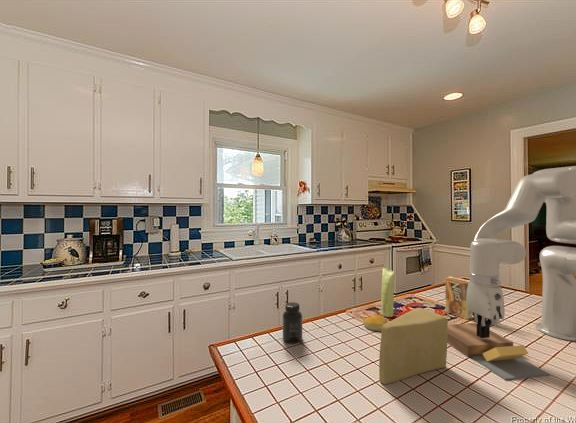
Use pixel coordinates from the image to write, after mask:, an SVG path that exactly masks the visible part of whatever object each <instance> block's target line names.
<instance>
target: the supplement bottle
mask: <svg viewBox="0 0 576 423" xmlns="http://www.w3.org/2000/svg"><path fill="white" fill-rule="evenodd" d="M284 309H285V311H284V312H283V313H282V339H283V341H284V342H285V343H288V344H297V343H300V342H301V341H302V340H303V313H302V312H301V311H300V310H301V309H300V304H299V303H298V302H296V301H295V302H293V301H292V302H291V301H290V302H286V303H285V308H284Z"/></svg>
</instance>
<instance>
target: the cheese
mask: <svg viewBox="0 0 576 423" xmlns="http://www.w3.org/2000/svg"><path fill="white" fill-rule="evenodd" d="M448 323H449V322H448V318H447V317H445V316H444V315H442V314H439V313H436V312H433V311H432V310H431V311H430V310H428V309H425V308H421V307H416V308H414V309H411V310H410V311H407V312H406V313H403V314H402V315H400V316H398V317H396V318H394V319H392V320H390V321H387V323H386V324H384V325H383V326H382V331H381V332H380V334H381V336H380V337H381V338H380V346H379V355H378V356H379V360H378V362H379V363H378V364H379V365H378V367H379V368H378V370H379V371H378V372H379V373H378V374H379V376H378V377H379V382H380V383H381V384H383V385H388V384H391V383H394V382H398V381H402V380H404V379H407V378H410V377H413V376H416V375H419V374H423V373H426V372H430V371H434V370H438V369H442V368H443V369H444V368H446V367H447V354H448V353H447V352H448V343H447V338H448V325H449V324H448Z"/></svg>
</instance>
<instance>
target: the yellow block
mask: <svg viewBox="0 0 576 423" xmlns="http://www.w3.org/2000/svg"><path fill="white" fill-rule="evenodd" d="M482 354H483V356H484V358H485V359H486V361H487V362H488V361H500V360H512V359H516V358H518V357H520V358H521V357H523V356H526V355H529V352H528V350H527V349H526V347H525V345H521V344H520V345H513V346H507V347H495V348H493V349H491V350H489V351H487V352H484V353H482Z"/></svg>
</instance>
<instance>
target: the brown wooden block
mask: <svg viewBox="0 0 576 423" xmlns="http://www.w3.org/2000/svg"><path fill="white" fill-rule="evenodd" d="M476 333H477V323H476V322H472V323H471V322H470V323H469V322H468V323H455V324H454V323H453V324H448V338H447V345H449V346H451V347H452V348H454V349H455V350H456V351H458V352H459V353H461V354H463V356H465V357H466V358H472V356H482V355H483V354H482V353H484V352H487V351H489V350H491V349H493V348H495V347H507V346H514V342H513V341H512V340H510V339H508V338H506V337H504V336H502V335H501V334H498V333H497V332H495V331H492V330H491V329H490V337H489V338H480V337H478V336H477V335H476Z"/></svg>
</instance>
